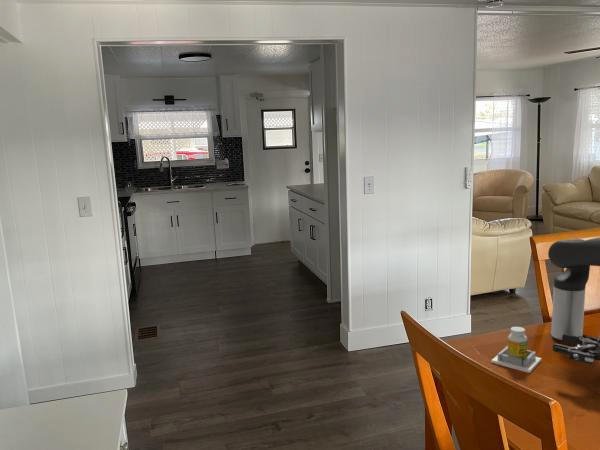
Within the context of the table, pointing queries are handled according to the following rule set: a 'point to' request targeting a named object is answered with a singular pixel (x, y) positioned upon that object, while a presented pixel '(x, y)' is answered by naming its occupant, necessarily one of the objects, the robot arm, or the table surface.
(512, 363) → the caddy
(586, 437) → the table surface
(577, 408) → the table surface
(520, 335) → the supplement bottle
